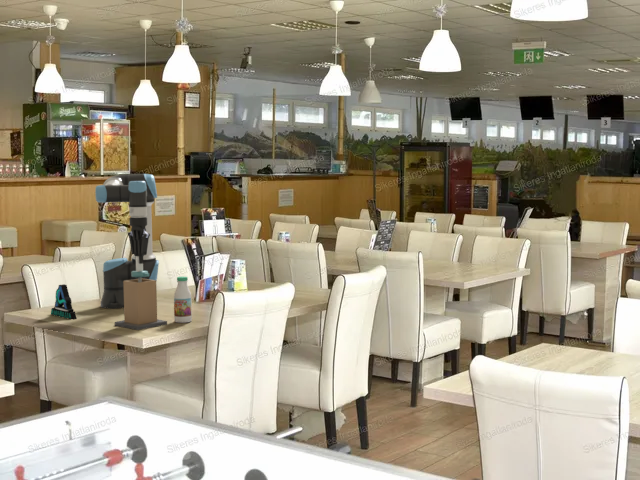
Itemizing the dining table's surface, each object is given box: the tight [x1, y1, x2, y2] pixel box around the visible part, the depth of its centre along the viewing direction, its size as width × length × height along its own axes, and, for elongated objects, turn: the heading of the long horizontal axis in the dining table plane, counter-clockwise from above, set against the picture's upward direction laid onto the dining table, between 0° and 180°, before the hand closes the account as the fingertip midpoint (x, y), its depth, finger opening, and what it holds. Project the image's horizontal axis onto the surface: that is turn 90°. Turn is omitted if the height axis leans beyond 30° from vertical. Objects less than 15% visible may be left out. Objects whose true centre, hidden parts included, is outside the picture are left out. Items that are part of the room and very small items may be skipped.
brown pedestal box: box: [114, 278, 168, 331], centre depth 389 cm, size 16×16×20 cm
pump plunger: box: [131, 271, 149, 282], centre depth 388 cm, size 10×7×19 cm
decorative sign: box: [50, 284, 77, 320], centre depth 411 cm, size 19×2×15 cm, turn 45°
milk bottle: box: [173, 276, 193, 324], centre depth 397 cm, size 8×8×20 cm
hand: (139, 271), depth 388 cm, fingers closed
